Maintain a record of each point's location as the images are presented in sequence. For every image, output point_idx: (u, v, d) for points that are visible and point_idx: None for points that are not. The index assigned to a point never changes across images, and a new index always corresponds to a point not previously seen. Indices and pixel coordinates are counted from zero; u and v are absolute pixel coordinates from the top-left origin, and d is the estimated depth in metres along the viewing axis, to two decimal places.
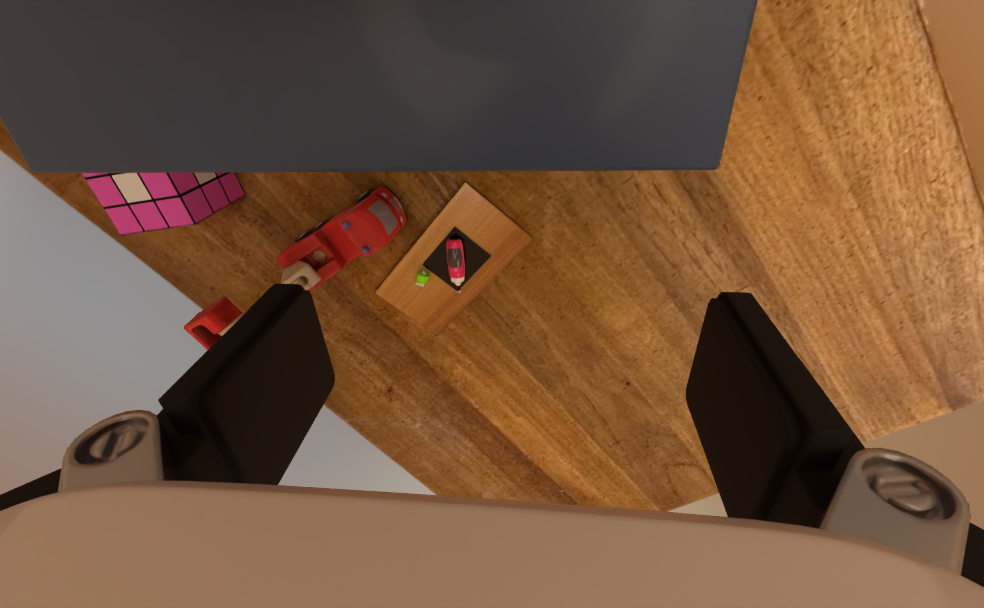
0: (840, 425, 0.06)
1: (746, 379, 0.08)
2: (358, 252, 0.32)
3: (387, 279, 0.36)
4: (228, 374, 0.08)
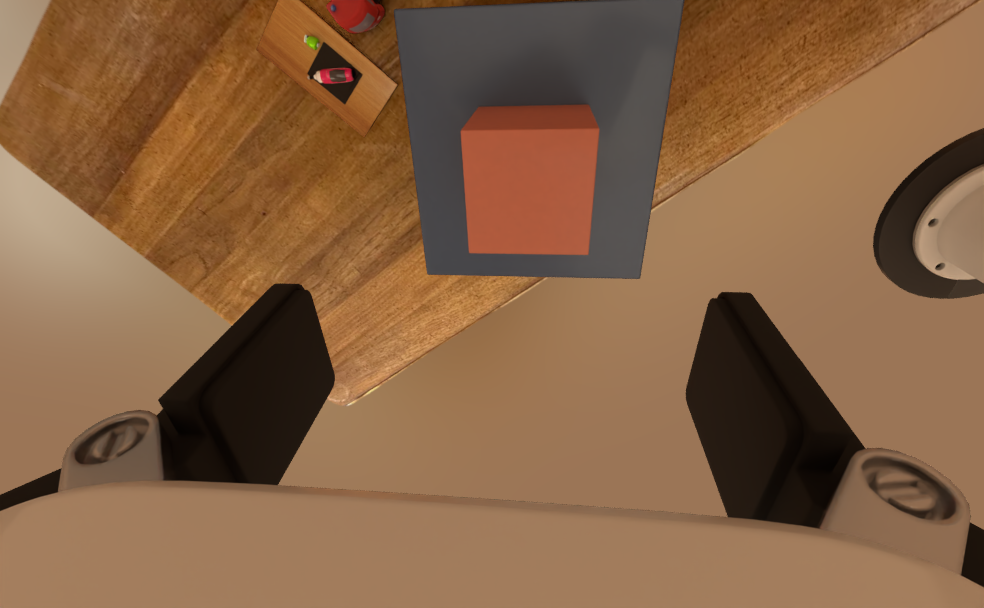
0: (840, 425, 0.06)
1: (746, 379, 0.08)
2: None
3: (301, 3, 0.40)
4: (228, 374, 0.08)
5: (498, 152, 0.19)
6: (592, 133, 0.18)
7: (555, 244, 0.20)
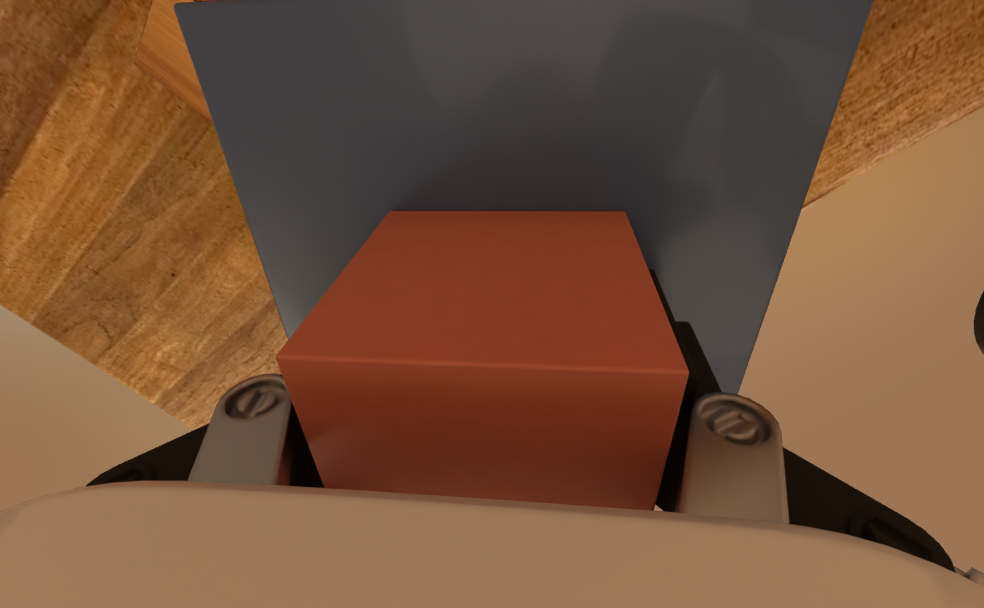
0: (691, 372, 0.07)
1: None
2: None
3: None
4: None
5: (391, 409, 0.07)
6: (665, 383, 0.06)
7: None
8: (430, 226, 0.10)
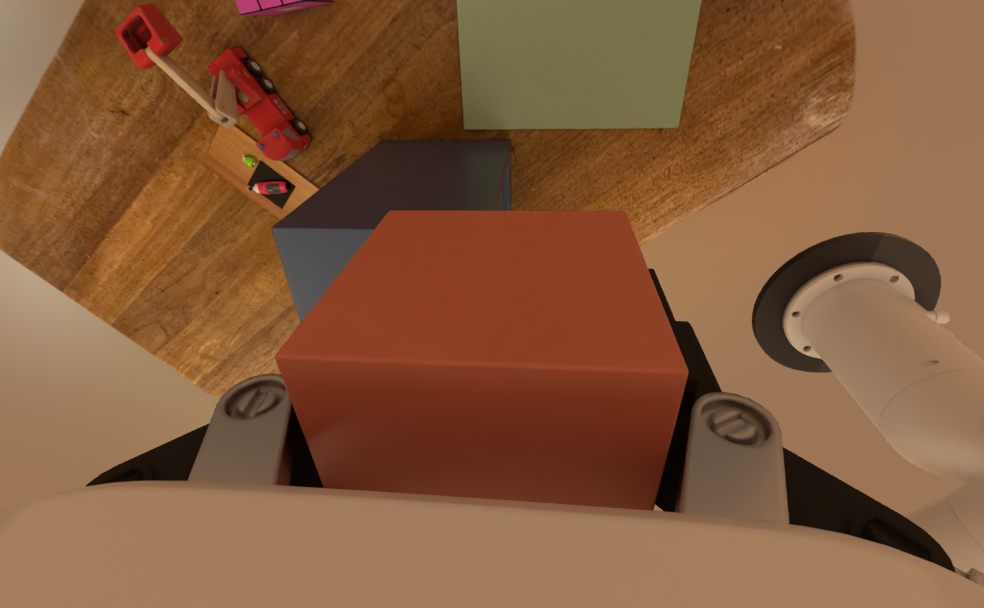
0: (691, 372, 0.07)
1: None
2: (256, 124, 0.44)
3: (238, 130, 0.46)
4: None
5: (389, 409, 0.07)
6: (665, 383, 0.06)
7: None
8: (430, 226, 0.10)
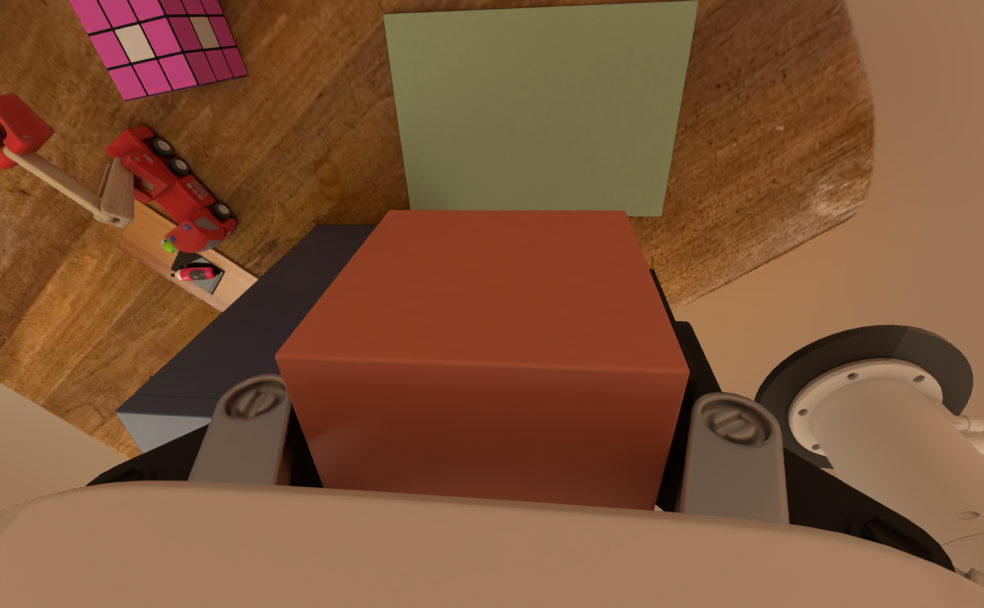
0: (691, 372, 0.07)
1: None
2: (168, 211, 0.37)
3: (154, 212, 0.40)
4: None
5: (390, 408, 0.07)
6: (666, 382, 0.06)
7: None
8: (430, 225, 0.10)
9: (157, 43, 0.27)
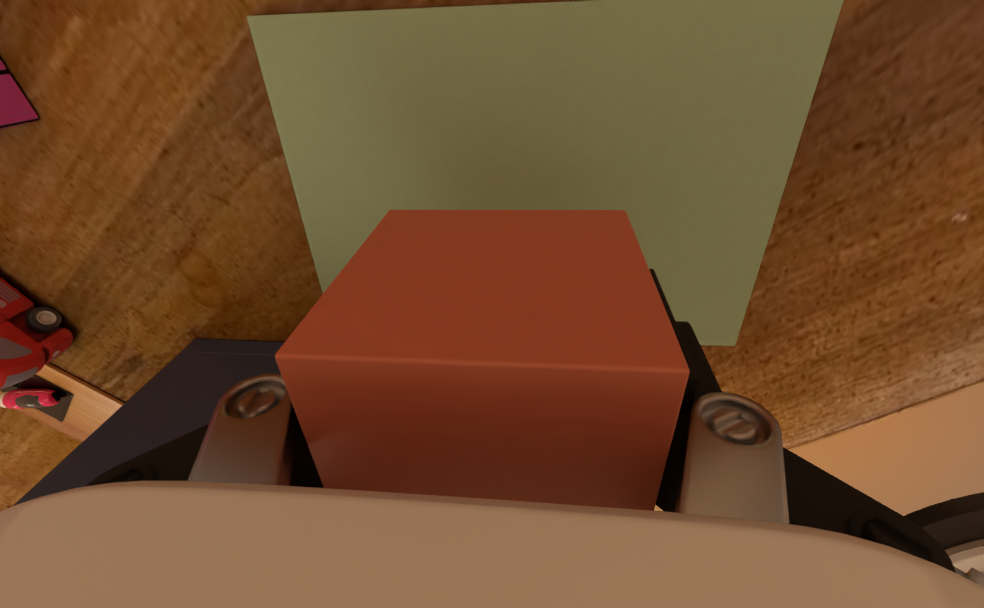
0: (691, 372, 0.07)
1: None
2: None
3: None
4: None
5: (390, 407, 0.07)
6: (666, 382, 0.06)
7: None
8: (430, 225, 0.10)
9: None
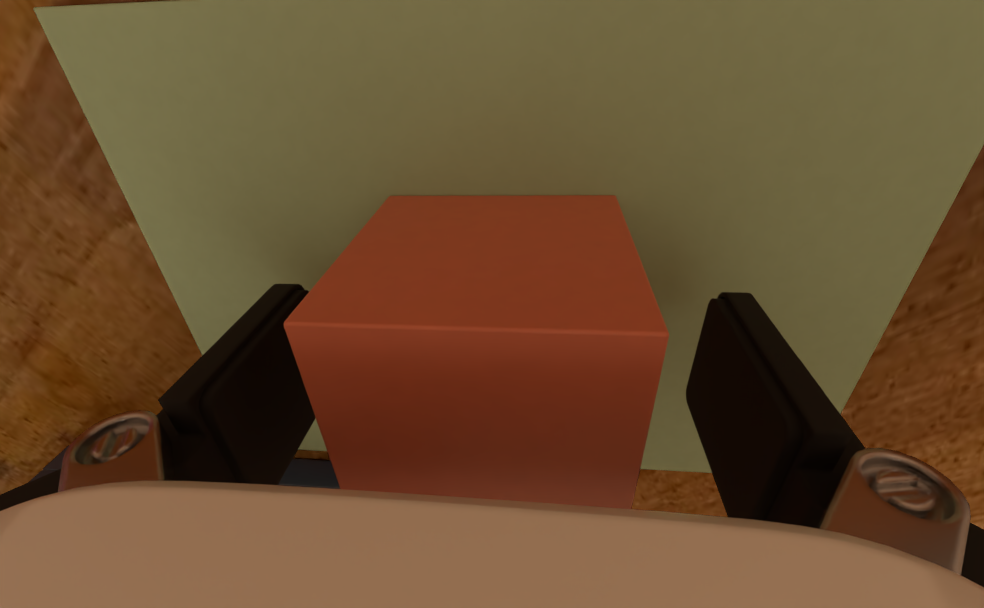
0: (840, 425, 0.06)
1: (746, 379, 0.08)
2: None
3: None
4: (228, 374, 0.08)
5: (390, 373, 0.07)
6: (647, 345, 0.06)
7: None
8: (428, 209, 0.10)
9: None
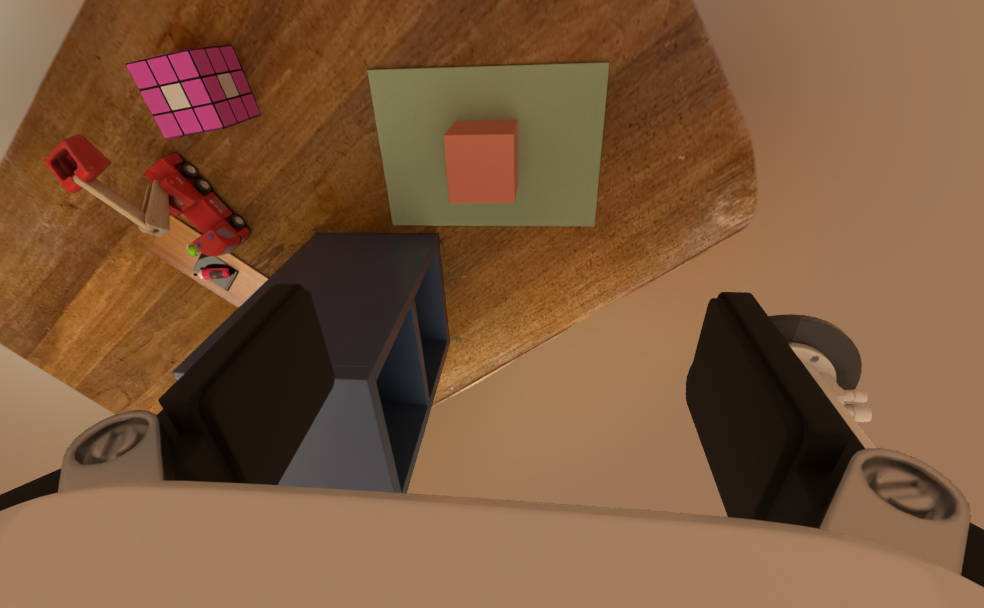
0: (840, 425, 0.06)
1: (746, 379, 0.08)
2: (194, 222, 0.46)
3: (180, 222, 0.48)
4: (228, 374, 0.08)
5: (463, 146, 0.35)
6: (510, 136, 0.35)
7: (496, 197, 0.37)
8: (467, 122, 0.39)
9: (193, 96, 0.36)
